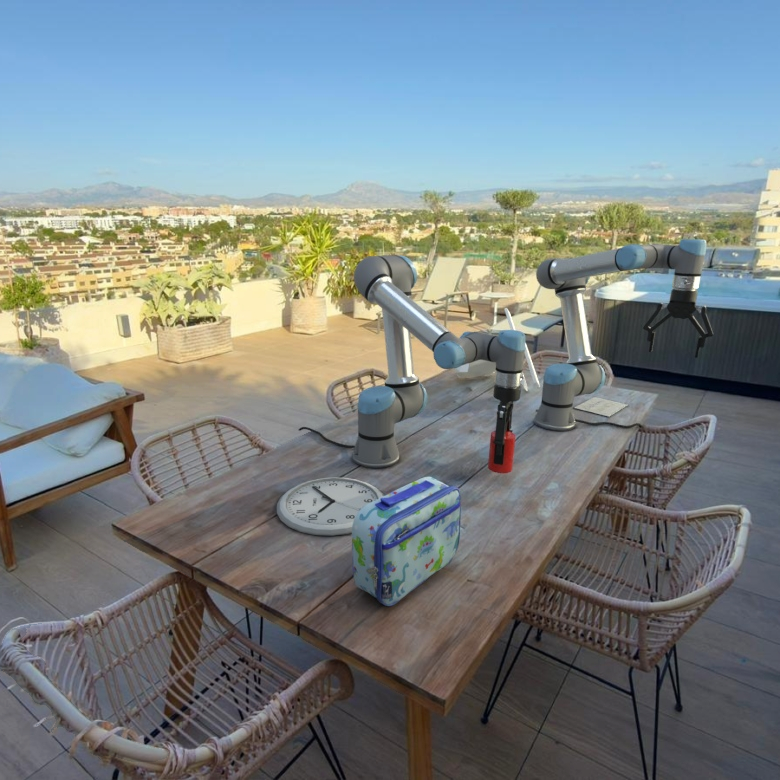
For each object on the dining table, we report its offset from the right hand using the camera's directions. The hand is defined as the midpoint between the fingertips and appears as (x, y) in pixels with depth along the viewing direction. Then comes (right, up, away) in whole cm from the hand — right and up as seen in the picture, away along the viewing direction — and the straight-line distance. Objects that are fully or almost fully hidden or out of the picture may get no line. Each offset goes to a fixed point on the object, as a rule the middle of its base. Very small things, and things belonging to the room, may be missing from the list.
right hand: (673, 354), depth 173 cm
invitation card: (-2, -19, +53) cm, 56 cm away
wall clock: (-110, -43, -31) cm, 122 cm away
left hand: (-61, -32, -18) cm, 71 cm away
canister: (-61, -35, -17) cm, 72 cm away
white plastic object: (-44, -10, +82) cm, 93 cm away
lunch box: (-90, -53, -60) cm, 120 cm away
